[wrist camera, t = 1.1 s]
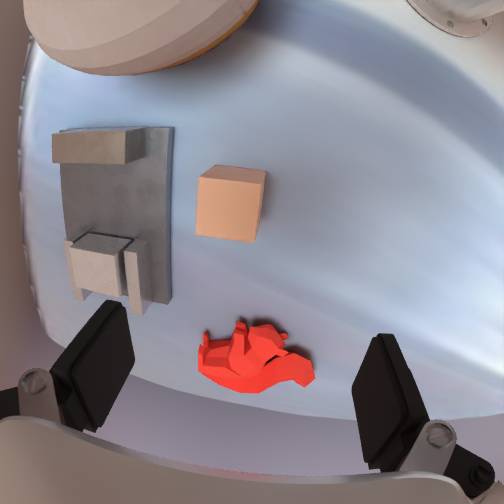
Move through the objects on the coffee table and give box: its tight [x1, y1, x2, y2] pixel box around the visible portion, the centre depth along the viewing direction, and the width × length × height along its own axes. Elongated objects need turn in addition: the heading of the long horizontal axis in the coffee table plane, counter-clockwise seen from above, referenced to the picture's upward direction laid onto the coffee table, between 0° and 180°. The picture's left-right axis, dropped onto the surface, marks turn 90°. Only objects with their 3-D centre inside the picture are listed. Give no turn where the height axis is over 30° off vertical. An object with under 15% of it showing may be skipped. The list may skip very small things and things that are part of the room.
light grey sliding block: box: [69, 233, 132, 297], centre depth 30 cm, size 5×6×4 cm
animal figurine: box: [198, 321, 315, 393], centre depth 36 cm, size 12×15×5 cm
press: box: [52, 127, 174, 316], centre depth 29 cm, size 20×14×6 cm
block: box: [196, 165, 266, 243], centre depth 27 cm, size 5×5×6 cm
